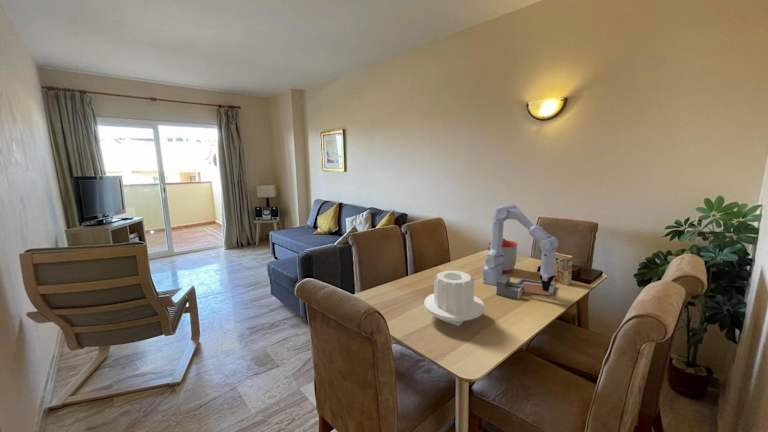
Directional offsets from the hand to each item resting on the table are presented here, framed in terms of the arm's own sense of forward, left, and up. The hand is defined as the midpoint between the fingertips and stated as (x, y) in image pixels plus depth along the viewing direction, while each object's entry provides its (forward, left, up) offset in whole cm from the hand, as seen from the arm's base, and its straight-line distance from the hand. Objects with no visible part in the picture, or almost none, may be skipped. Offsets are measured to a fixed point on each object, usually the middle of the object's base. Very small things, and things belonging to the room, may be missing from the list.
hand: (545, 290), depth 147 cm
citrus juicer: (-28, +31, -5) cm, 42 cm away
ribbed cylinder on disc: (-31, -38, -5) cm, 49 cm away
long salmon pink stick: (-4, 0, -2) cm, 4 cm away
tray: (-6, +13, -5) cm, 15 cm away
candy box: (+4, +28, -5) cm, 29 cm away
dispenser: (-16, 0, -5) cm, 17 cm away
